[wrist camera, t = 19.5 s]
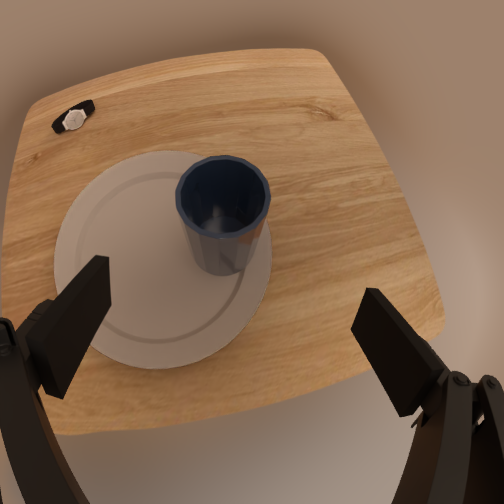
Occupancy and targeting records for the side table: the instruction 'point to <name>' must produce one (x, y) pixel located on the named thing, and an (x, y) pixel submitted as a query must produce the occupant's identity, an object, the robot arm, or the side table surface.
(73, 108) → the watch
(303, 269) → the side table surface
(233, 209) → the tumbler
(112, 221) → the plate
